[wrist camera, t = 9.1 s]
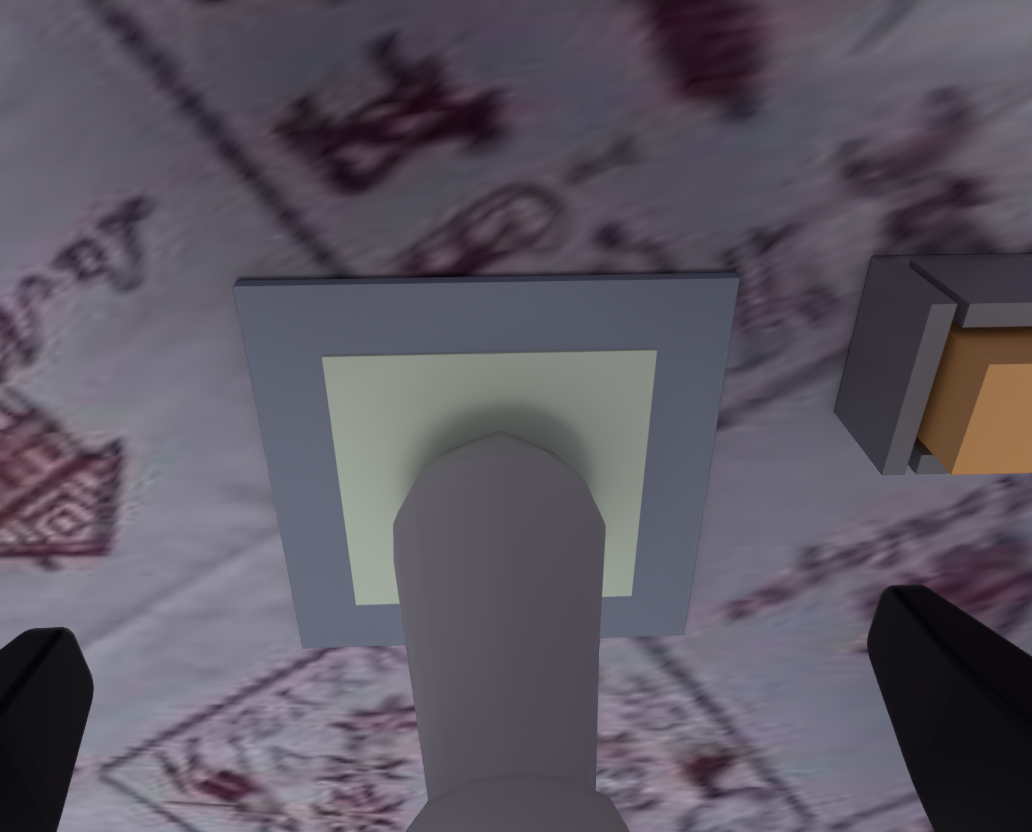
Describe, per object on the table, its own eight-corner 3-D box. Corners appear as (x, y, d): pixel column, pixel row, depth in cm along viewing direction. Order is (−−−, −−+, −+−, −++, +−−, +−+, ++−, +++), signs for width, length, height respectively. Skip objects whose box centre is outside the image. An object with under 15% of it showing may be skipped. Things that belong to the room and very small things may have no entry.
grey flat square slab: (681, 626, 28) (685, 637, 27) (304, 639, 27) (302, 650, 27) (735, 272, 21) (741, 279, 21) (237, 280, 21) (232, 287, 20)
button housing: (992, 408, 24) (1060, 470, 21) (834, 411, 24) (882, 475, 21) (1048, 253, 21) (1133, 300, 19) (872, 256, 21) (931, 304, 18)
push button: (1008, 414, 22) (1071, 471, 19) (900, 417, 22) (951, 474, 19) (1046, 312, 20) (1120, 361, 18) (929, 314, 20) (989, 364, 18)
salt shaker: (477, 591, 26) (482, 1086, 15) (357, 477, 23) (256, 971, 12) (630, 502, 24) (765, 981, 13) (520, 369, 22) (573, 825, 11)
